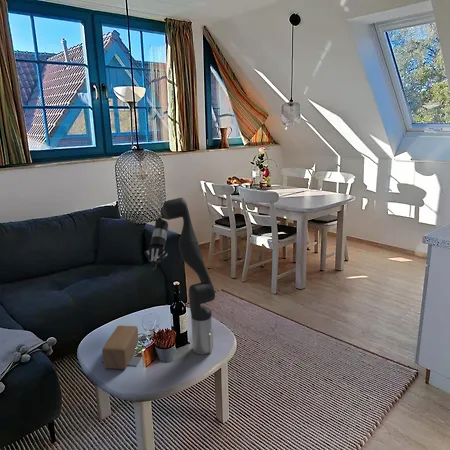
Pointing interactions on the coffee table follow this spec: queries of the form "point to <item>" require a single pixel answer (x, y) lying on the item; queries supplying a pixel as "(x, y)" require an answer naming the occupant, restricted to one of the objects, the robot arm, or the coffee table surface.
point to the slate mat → (133, 361)
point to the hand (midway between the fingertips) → (152, 268)
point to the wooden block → (120, 347)
